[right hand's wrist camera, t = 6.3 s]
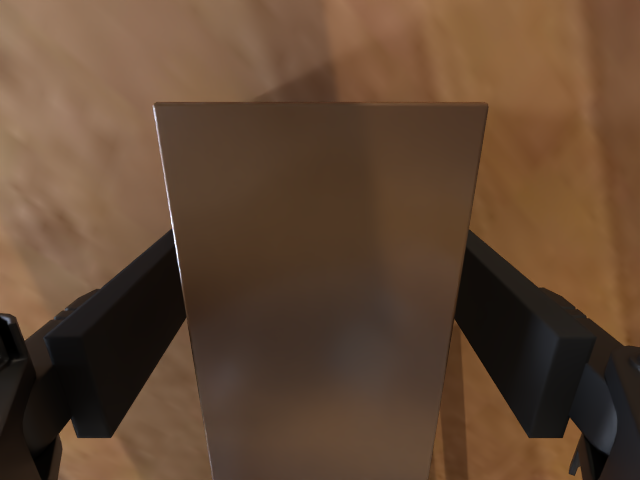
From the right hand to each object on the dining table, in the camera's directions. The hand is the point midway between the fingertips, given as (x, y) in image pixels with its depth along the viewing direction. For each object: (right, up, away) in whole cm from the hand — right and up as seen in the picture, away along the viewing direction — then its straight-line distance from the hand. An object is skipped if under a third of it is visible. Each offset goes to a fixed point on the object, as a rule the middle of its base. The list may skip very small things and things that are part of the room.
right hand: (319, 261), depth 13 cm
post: (0, -20, +9) cm, 22 cm away
